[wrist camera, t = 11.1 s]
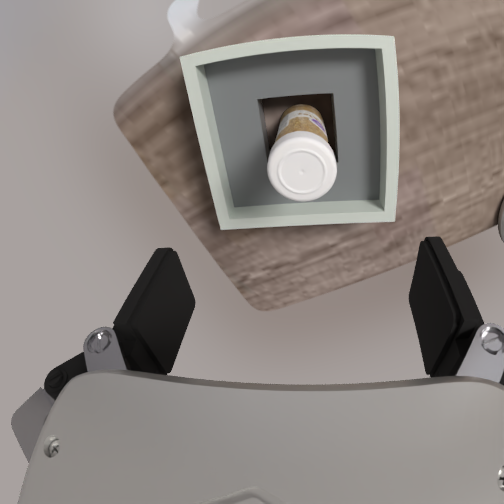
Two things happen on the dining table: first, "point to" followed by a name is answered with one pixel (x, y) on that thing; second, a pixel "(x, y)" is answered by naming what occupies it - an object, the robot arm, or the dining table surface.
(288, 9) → the dining table surface
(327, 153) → the sprinkles bottle
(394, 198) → the open box
